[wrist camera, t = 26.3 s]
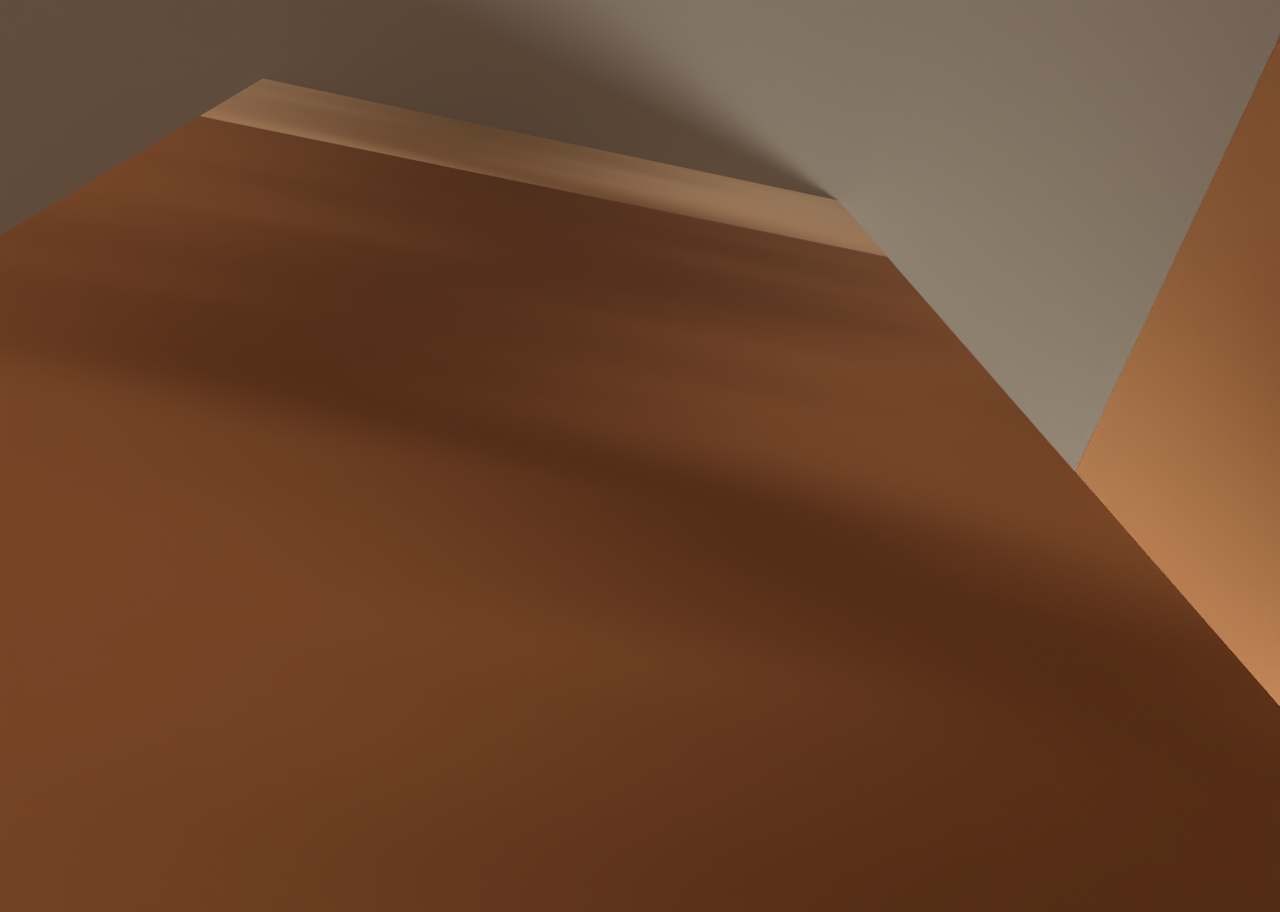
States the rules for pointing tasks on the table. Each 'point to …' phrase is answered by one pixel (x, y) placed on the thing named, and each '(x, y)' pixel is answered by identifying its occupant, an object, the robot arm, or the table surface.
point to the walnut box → (561, 559)
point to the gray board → (747, 125)
